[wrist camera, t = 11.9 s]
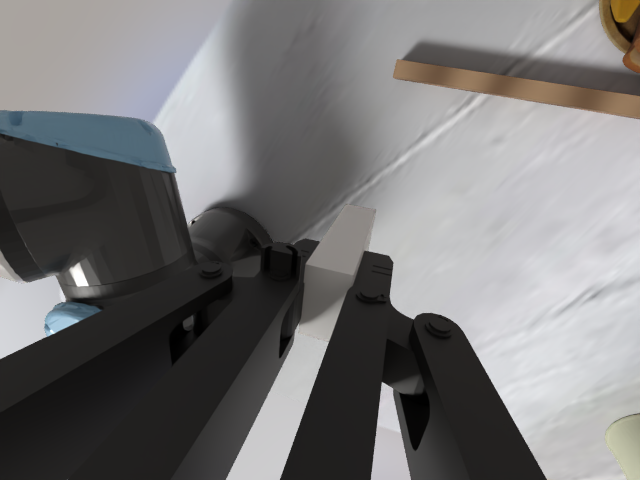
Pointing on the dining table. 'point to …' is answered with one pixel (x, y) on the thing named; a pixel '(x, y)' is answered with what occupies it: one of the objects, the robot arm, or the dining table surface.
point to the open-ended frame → (520, 88)
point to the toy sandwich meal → (623, 28)
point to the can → (626, 444)
